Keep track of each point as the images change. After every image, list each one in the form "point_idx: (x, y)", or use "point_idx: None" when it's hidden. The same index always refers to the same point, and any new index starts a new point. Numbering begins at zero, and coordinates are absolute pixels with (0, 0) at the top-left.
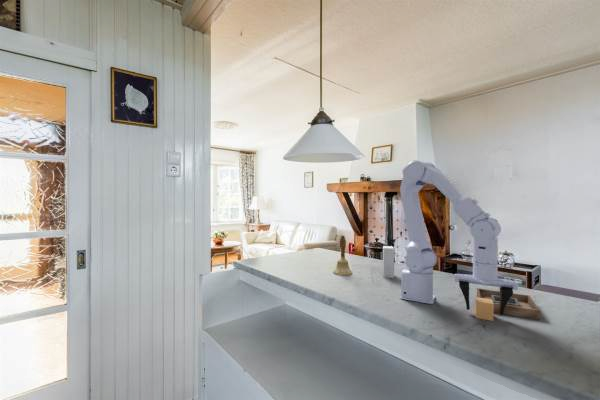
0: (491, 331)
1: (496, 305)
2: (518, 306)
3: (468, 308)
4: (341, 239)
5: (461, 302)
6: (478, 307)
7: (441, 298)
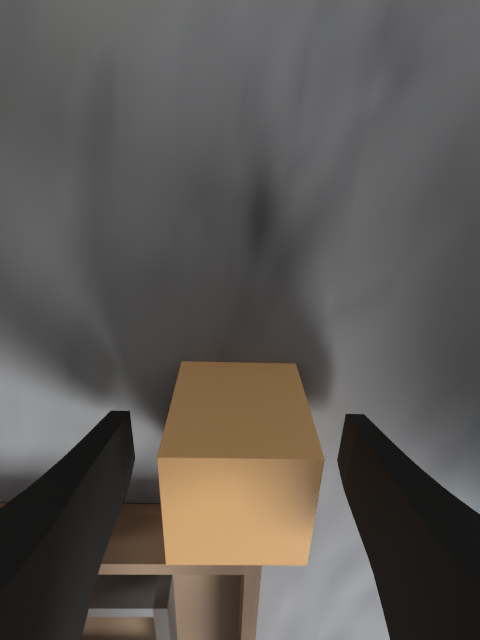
0: (209, 107)
1: (147, 551)
2: None
3: (357, 419)
4: None
5: (346, 565)
6: (292, 415)
7: None
